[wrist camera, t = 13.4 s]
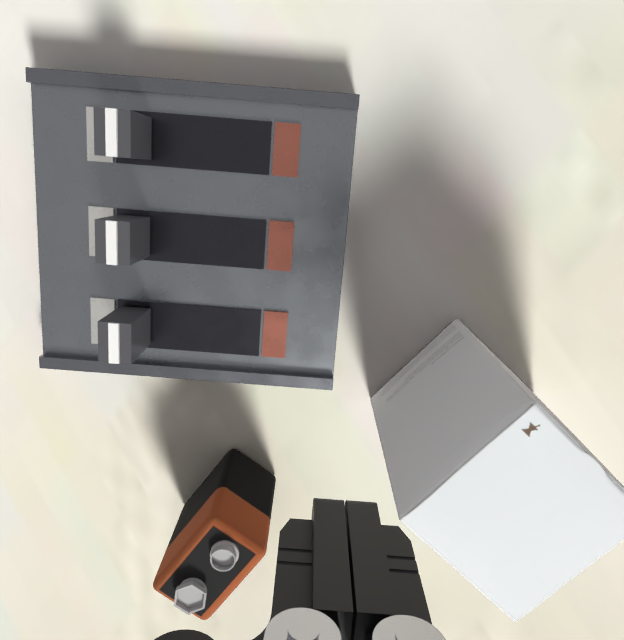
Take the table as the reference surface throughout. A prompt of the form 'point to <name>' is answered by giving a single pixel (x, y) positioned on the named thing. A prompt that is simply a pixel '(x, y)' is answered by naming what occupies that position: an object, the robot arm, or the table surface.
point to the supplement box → (493, 474)
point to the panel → (197, 226)
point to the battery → (218, 536)
